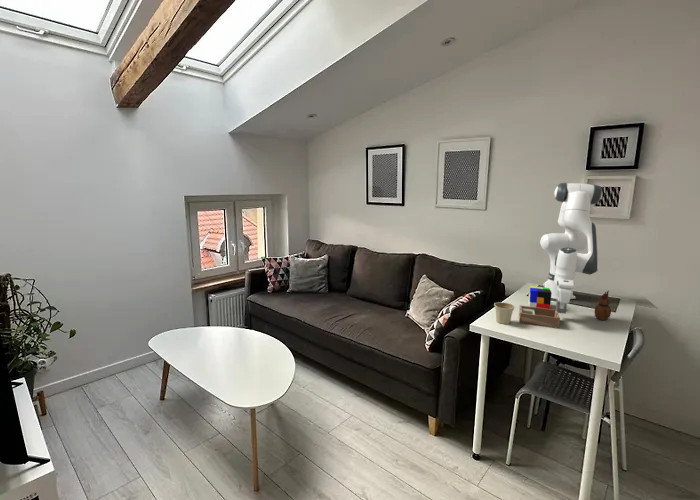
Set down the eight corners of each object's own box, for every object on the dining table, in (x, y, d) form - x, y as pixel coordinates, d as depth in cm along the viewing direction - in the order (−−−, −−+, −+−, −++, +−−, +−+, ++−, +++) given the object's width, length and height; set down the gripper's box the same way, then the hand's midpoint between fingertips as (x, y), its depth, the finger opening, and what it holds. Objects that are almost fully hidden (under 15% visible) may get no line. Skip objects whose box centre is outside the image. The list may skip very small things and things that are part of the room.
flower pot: (504, 327, 173) (505, 309, 171) (488, 320, 181) (490, 304, 180) (517, 323, 177) (519, 306, 176) (501, 317, 185) (503, 301, 184)
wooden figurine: (605, 317, 186) (609, 289, 184) (612, 321, 181) (616, 292, 178) (591, 316, 187) (594, 288, 184) (597, 320, 181) (601, 292, 179)
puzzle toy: (529, 308, 200) (531, 290, 198) (528, 302, 209) (529, 286, 207) (549, 310, 196) (551, 292, 195) (547, 304, 206) (549, 287, 204)
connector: (555, 309, 186) (556, 297, 184) (564, 310, 184) (565, 297, 183) (556, 312, 182) (557, 299, 181) (565, 313, 181) (567, 300, 179)
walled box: (518, 314, 190) (519, 305, 189) (555, 319, 183) (556, 309, 182) (519, 322, 178) (520, 313, 177) (558, 328, 171) (560, 318, 170)
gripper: (555, 274, 190) (552, 299, 193) (559, 285, 172) (555, 312, 175) (568, 275, 188) (565, 301, 191) (574, 286, 170) (570, 314, 172)
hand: (560, 306), depth 183 cm, fingers closed on connector, 4 cm apart
